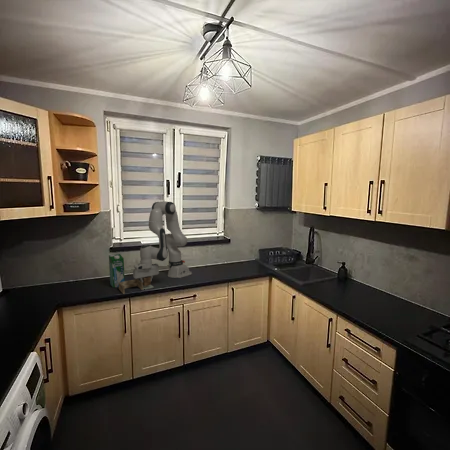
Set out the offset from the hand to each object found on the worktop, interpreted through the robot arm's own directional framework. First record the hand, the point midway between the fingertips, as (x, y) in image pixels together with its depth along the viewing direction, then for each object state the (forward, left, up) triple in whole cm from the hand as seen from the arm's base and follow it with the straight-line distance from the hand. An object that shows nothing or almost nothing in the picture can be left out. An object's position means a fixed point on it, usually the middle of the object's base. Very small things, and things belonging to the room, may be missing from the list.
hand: (146, 281), depth 206 cm
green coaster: (0, 0, -5) cm, 5 cm away
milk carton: (+17, -20, -5) cm, 27 cm away
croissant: (+12, -3, -5) cm, 13 cm away
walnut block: (0, 0, -2) cm, 2 cm away
